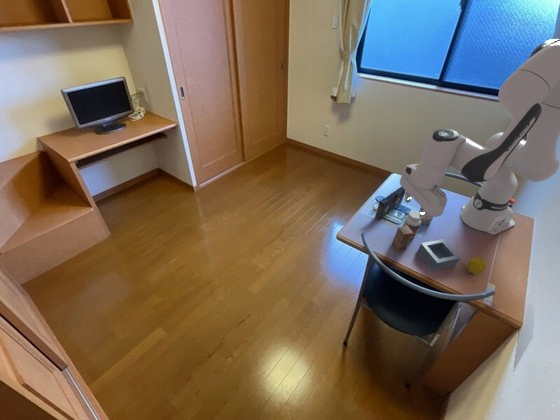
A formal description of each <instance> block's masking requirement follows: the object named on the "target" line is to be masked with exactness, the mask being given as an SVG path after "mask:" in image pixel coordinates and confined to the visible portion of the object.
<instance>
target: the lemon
mask: <svg viewBox="0 0 560 420" xmlns="http://www.w3.org/2000/svg"><path fill="white" fill-rule="evenodd" d="M486 268H487V262H486V261H485V260H484V259H483V258H482V257H477V256H476V257H475V256H474V257H472V258H471V259H469V261H468V262H467V264H466V269H467V270H468V271H467V272H469V273H470V274H472V275H481V274H482V273H484V272H485V270H486Z"/></svg>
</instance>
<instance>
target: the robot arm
mask: <svg viewBox="0 0 560 420" xmlns="http://www.w3.org/2000/svg"><path fill="white" fill-rule="evenodd" d="M497 99H498V102H499V105H500V106H501V108H502V110H503V111H504V112H505V113H506V114H507V116H508V117H509V118H510V120H511V121H510V124H509V126H508V127H507V128H506V129H505V130H504V131H503V132H502V131H501V132H497V133H495V134H493V135H492V136H491V137H489V139H487V140H486V142H485V145H484V146H483V145H481V144H479V143H477V142H475V141H474V140H472V139H470V138H468V137H466V136H464V135H462V134H459V132H458V131H456V130H454V129H450V128H441V129H440V128H439V129H437V130H435V131H433V132H432V133H431V135H430V136H429V138H428V139H427V140H426V143H425V144H424V148H423V149H422V152H421V154H420V161H419V162H418V163H412V164H407V165H405V166H404V168H403V169H404V171H402V174H401V177H400V179H399V185H400V186H401V187H403V188H404V189H405V194H404V198H403V200H404V201H405V203H407V204H408V203H410V202H411V200H414V201H415V202H416V203H417V204H418V205H419V206H420V208H421V207H422V208H423V209H424V213H420V215H419V217H420V218H421V219H425V218H426V217H427V215H430V216H431V217H433V218H437V217H441V216H442V215H444V214H443V213H444V211H445V208H446V205H447V201H448V198H447V196H446V195H447V194H446V193H445V192H444V191H443V190H442V189H441V188H440V187H441V184H442V183H443V180H444V178H445V176H446V174H447V168H451V169H453V170H455V171H456V172H458V173H459V174H461V176H463V177H464V178H465V179H466V180H467V181H469V182H470V183H482V185H481V186H480V188H478V189H477V191H476V192H475V194H474V196H472V197H470V199H469V200H468V202H467V203H466V205H463V206H462V207H461V213H460V215H459V216H460V219H461V220H462V221H463V223H465V224H466V225H467V226H468V227H470V228H472V229H474V230H478V231H480V232H481V231H482V232H485V233H488V234H490V235H492V236H493V235H497V234H499V233H501V232H504V231H506V230H508V229H510V228H513V227H515V225H516V222H515V220H514V219H513V218H514V217H513V216H514V211H513V209H512V208H511V207H510V206H509V204H510V205H514V204H515V203H516V199H513V198H512V196H513V195H514V194H515V192H516V191H517V190H518V186H519V184H518V183H519V181H518V180H517V177H516V175H518V176H519V177H520V178H523V179H525V180H529V181H532V182H534V183H539V182H544V181H546V180H548V179H550V178H551V177H552V176H554V175H555V174H556V173H557V171H558V169H559V167H560V166H559V165H560V161H559V159H558V155H557V142H558V139H559V136H560V38H553V39H548V40H546V41H544V42H542V43H540V44H539V45H538V46H536V48H535V49H534V50H533V51H532V52H531V54H530V55H529V57H528V59H527V60H526V61H525V62H524V63H522V64H521V65H520V66H519V67H518V68H516V70H515V71H513V72H512V73H511V75H510V76H508V77H507V78H506V80H505V81H504V82H503V83H502V84H501V86H500V88H499V91H498V95H497ZM525 137H526V140H525V139H524V138H525ZM515 174H516V175H515Z"/></svg>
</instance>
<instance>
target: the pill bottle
mask: <svg viewBox="0 0 560 420" xmlns="http://www.w3.org/2000/svg"><path fill="white" fill-rule="evenodd" d="M419 215H420V212H419V211H418V210H415V209H414V210H413V209H412V210H410V211H409V212H408V214H407V216H406V217H405V218H404V221H403V223H402V226H408V227H409V228H410V229H411V231H412V232H413V234H412V237H411V239H412V238H415V237H416V235H417V234H418V230H419V228H420V226H421V225H422V223H421V218H420V217H419Z"/></svg>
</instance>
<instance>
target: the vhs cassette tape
mask: <svg viewBox="0 0 560 420" xmlns="http://www.w3.org/2000/svg"><path fill="white" fill-rule="evenodd" d="M404 198H405V189H404V188H403V187H402V186H401V187H399V188H396V190H395V191H393V192H391V193H390V194H389V195H387V196H386V197H385V198H383V199H381V200H380V201H379V202H378V206H377V209H376V212H375V216H374V218H375V219H376V220H378V221H380V220H382V219H383V218H385V217H386V216H387V215H389V214H390V213H391V212H392V210H393V209H394V208H395V207H396V206H398V205H399V204H401V205H402V202H403V200H404ZM399 206H400V205H399ZM399 206H398V207H399ZM395 209H396V208H395ZM395 209H394V210H395ZM394 210H393V211H394ZM390 211H391V212H390ZM389 212H390V213H389ZM388 213H389V214H388ZM386 214H387V215H386ZM385 215H386V216H385ZM384 216H385V217H384Z"/></svg>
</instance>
